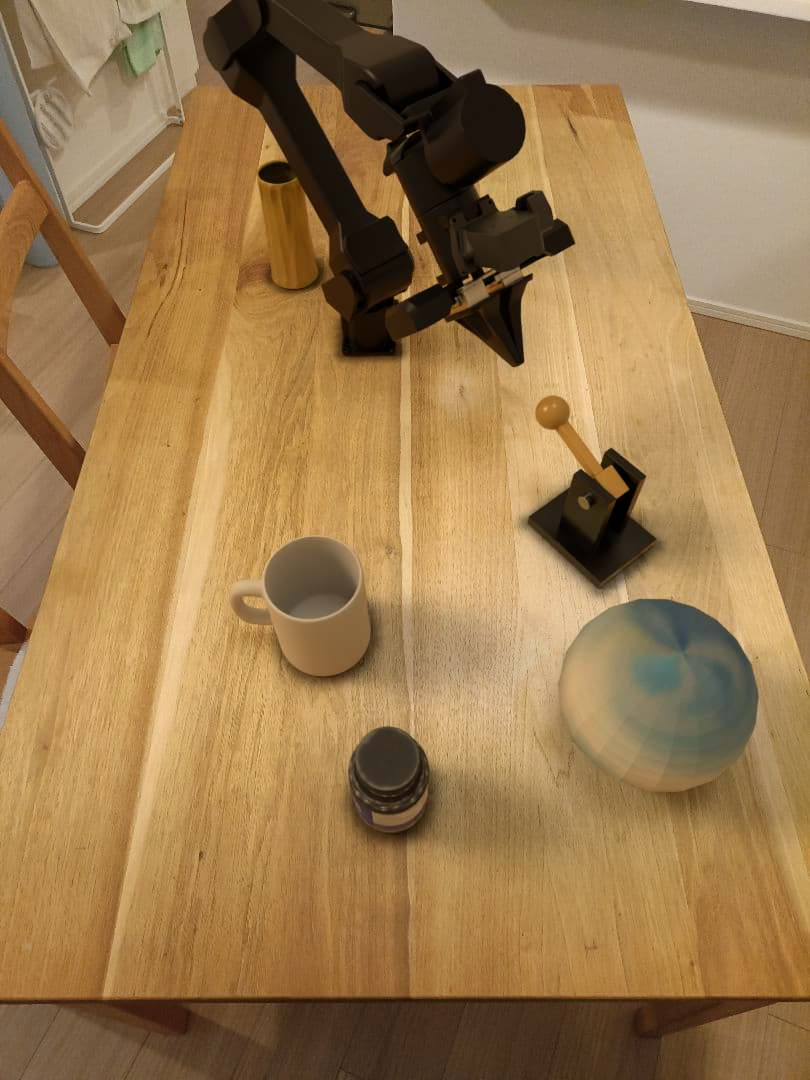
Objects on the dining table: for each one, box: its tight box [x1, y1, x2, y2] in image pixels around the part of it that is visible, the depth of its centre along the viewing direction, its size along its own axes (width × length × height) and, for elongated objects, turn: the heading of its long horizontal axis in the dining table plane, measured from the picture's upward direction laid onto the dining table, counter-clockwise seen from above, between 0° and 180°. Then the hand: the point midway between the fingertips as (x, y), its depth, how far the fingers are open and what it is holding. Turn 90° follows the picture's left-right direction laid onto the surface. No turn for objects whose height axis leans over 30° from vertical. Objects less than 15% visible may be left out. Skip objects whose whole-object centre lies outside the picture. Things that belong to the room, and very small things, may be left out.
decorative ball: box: [557, 598, 760, 793], centre depth 61 cm, size 15×15×15 cm
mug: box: [228, 534, 371, 677], centre depth 68 cm, size 12×8×11 cm
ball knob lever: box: [534, 394, 629, 499], centre depth 71 cm, size 12×3×3 cm, turn 39°
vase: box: [255, 158, 319, 290], centre depth 94 cm, size 6×6×14 cm
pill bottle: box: [347, 725, 430, 834], centre depth 59 cm, size 6×6×11 cm
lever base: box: [527, 447, 657, 589], centre depth 74 cm, size 10×8×10 cm
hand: (518, 365), depth 72 cm, fingers closed
